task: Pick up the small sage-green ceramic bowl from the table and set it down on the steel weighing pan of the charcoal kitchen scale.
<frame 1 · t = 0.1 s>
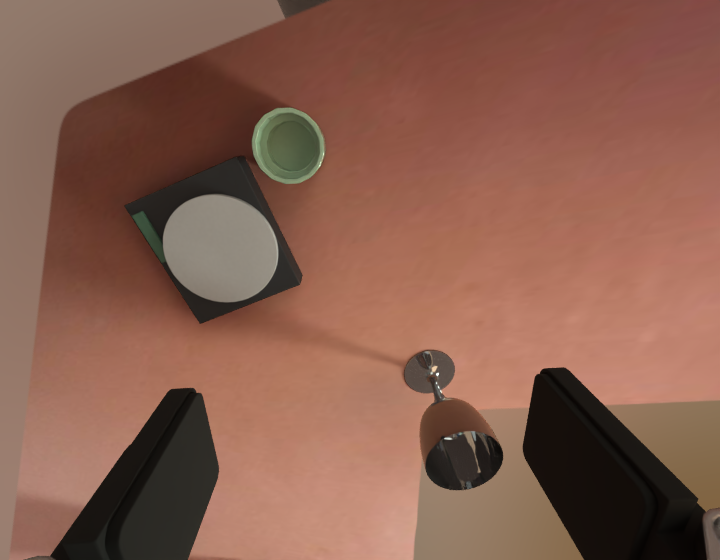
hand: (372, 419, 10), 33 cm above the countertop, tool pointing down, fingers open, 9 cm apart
bowl: (294, 146, 38), on the countertop
wine glass: (429, 371, 50), on the countertop
scale: (225, 240, 42), on the countertop
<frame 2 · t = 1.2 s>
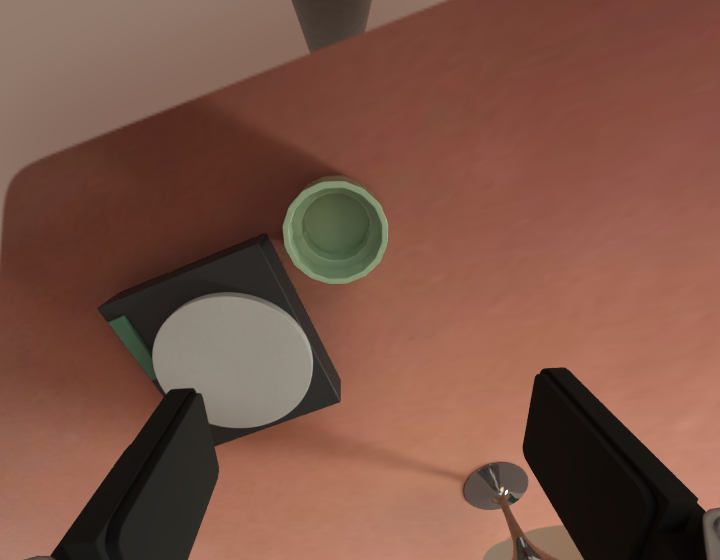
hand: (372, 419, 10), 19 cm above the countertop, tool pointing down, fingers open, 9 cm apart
bowl: (336, 220, 27), on the countertop
wine glass: (495, 485, 39), on the countertop
scale: (238, 339, 31), on the countertop
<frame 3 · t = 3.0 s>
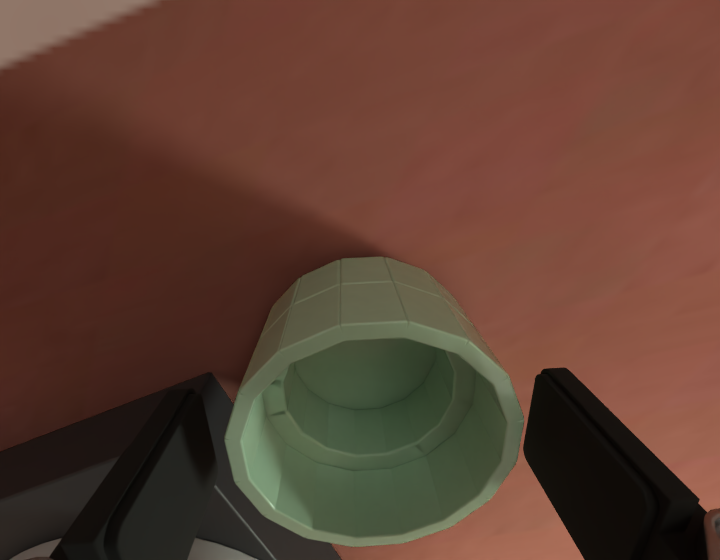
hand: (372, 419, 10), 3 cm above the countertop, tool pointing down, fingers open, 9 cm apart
bowl: (364, 344, 12), on the countertop
scale: (170, 545, 16), on the countertop
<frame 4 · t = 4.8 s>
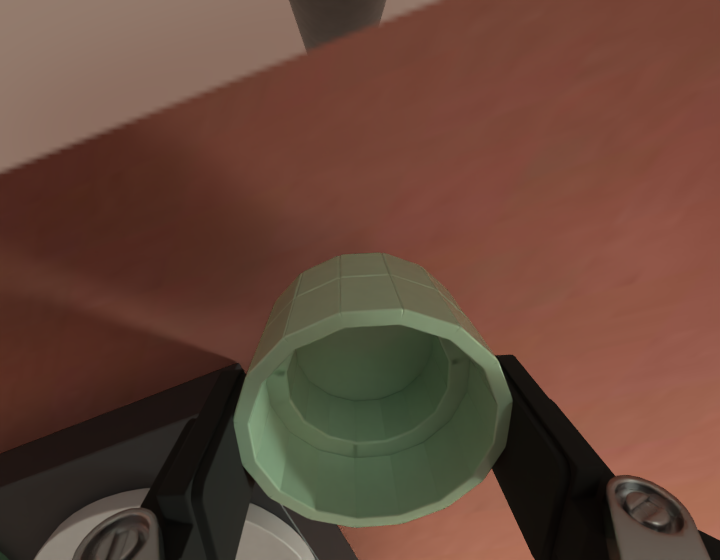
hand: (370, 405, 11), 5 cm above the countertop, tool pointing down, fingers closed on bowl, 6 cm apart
bowl: (363, 337, 13), point 2 cm above the countertop, touching gripper
scale: (196, 518, 19), on the countertop
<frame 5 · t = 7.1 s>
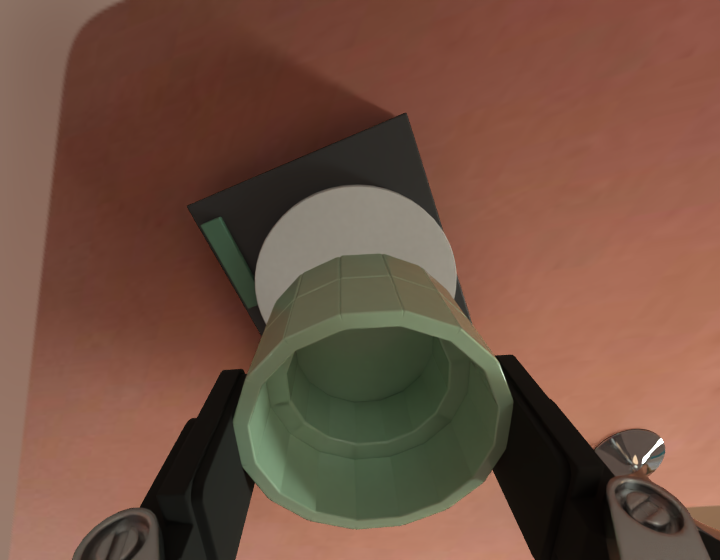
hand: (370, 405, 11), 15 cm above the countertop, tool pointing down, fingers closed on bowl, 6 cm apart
bowl: (363, 338, 13), point 12 cm above the countertop, touching gripper
wine glass: (624, 457, 33), on the countertop
scale: (345, 264, 24), on the countertop
when the fingers open (7 cm above the countertop, at t = 9.4 s): bowl stays where it is, resting on scale.
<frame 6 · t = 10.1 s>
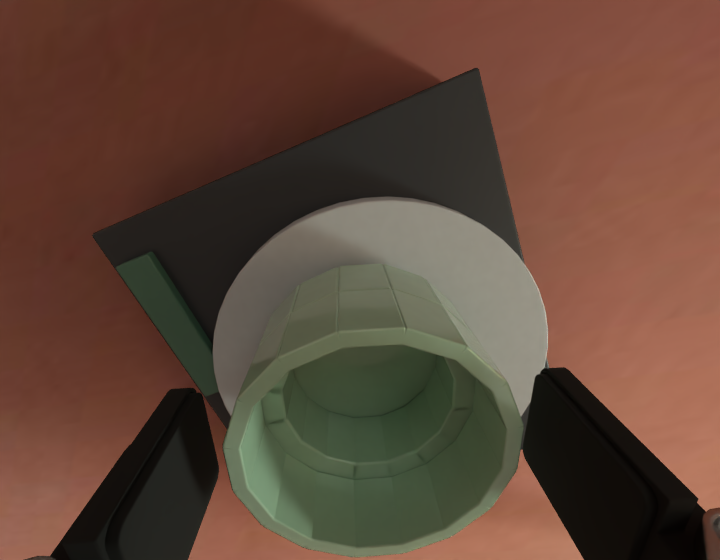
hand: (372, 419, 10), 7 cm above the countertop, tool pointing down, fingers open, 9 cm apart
bowl: (364, 351, 12), point 4 cm above the countertop, touching scale
scale: (360, 315, 16), on the countertop
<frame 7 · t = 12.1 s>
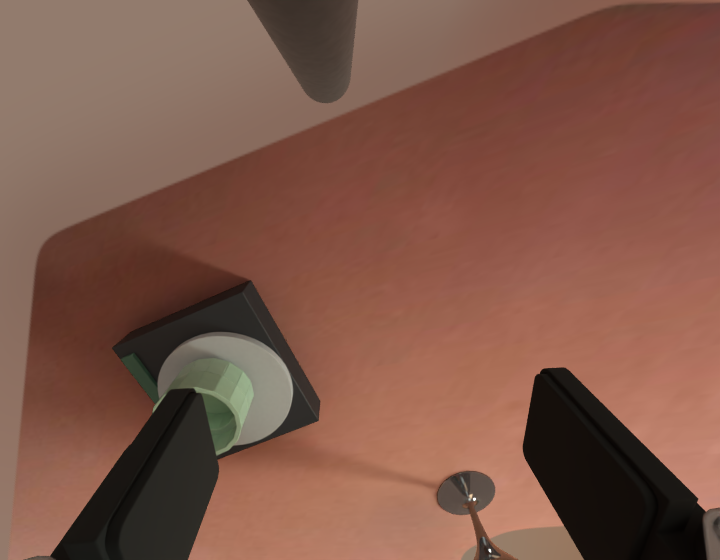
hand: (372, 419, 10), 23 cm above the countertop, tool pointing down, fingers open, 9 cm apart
bowl: (216, 387, 32), point 4 cm above the countertop, touching scale
wine glass: (465, 492, 43), on the countertop
scale: (230, 368, 36), on the countertop
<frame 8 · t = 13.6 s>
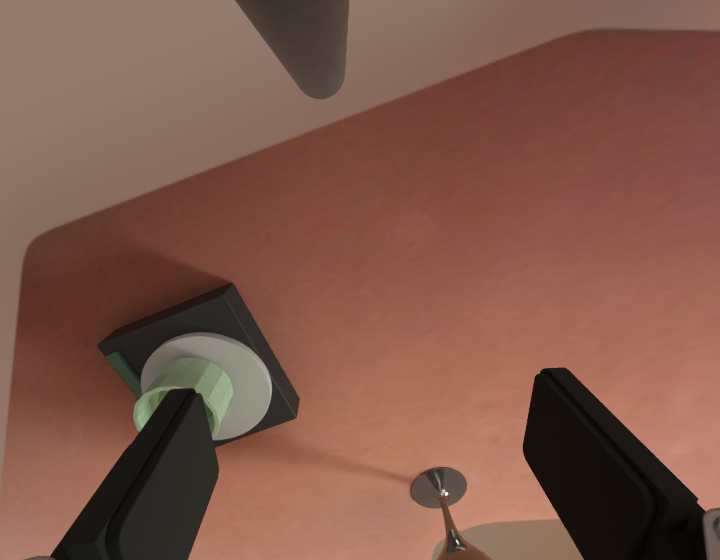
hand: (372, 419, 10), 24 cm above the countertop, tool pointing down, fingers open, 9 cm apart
bowl: (197, 385, 33), point 4 cm above the countertop, touching scale
wine glass: (438, 487, 45), on the countertop
scale: (212, 366, 37), on the countertop
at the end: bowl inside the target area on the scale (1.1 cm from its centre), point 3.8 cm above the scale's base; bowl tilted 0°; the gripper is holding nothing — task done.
